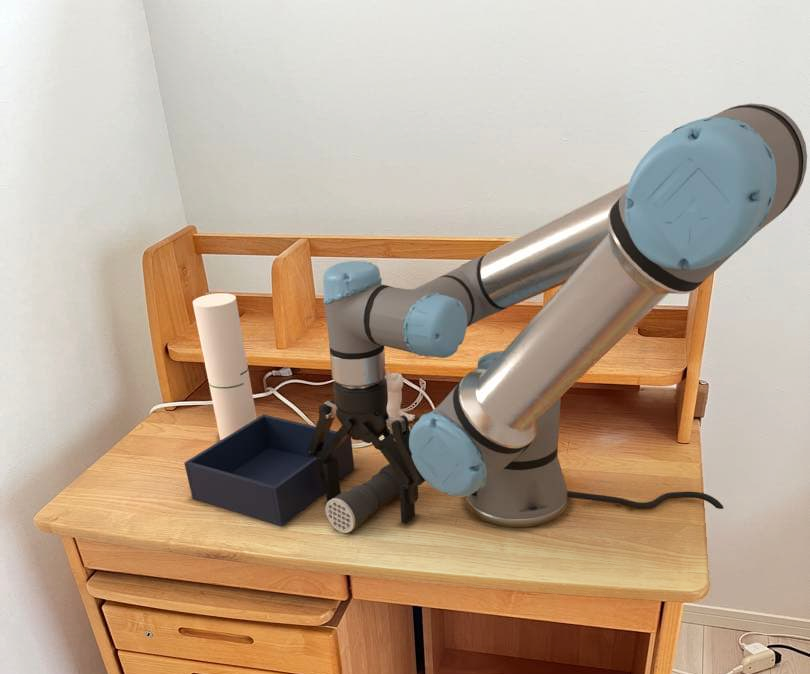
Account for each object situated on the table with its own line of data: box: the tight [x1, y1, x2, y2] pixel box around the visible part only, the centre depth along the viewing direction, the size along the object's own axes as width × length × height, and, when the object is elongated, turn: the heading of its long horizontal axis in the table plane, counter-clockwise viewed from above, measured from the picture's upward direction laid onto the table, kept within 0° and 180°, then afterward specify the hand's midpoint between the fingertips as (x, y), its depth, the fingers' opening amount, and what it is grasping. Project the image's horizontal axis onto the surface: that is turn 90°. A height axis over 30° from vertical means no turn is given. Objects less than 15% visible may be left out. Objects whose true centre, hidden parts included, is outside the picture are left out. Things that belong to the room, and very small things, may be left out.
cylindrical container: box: [192, 292, 258, 441], centre depth 143 cm, size 7×7×25 cm
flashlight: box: [324, 462, 403, 534], centre depth 124 cm, size 15×5×5 cm, turn 142°
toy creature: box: [385, 372, 416, 431], centre depth 147 cm, size 12×6×12 cm, turn 168°
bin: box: [183, 413, 355, 527], centre depth 132 cm, size 18×19×7 cm
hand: (370, 508), depth 126 cm, fingers open, 13 cm apart
